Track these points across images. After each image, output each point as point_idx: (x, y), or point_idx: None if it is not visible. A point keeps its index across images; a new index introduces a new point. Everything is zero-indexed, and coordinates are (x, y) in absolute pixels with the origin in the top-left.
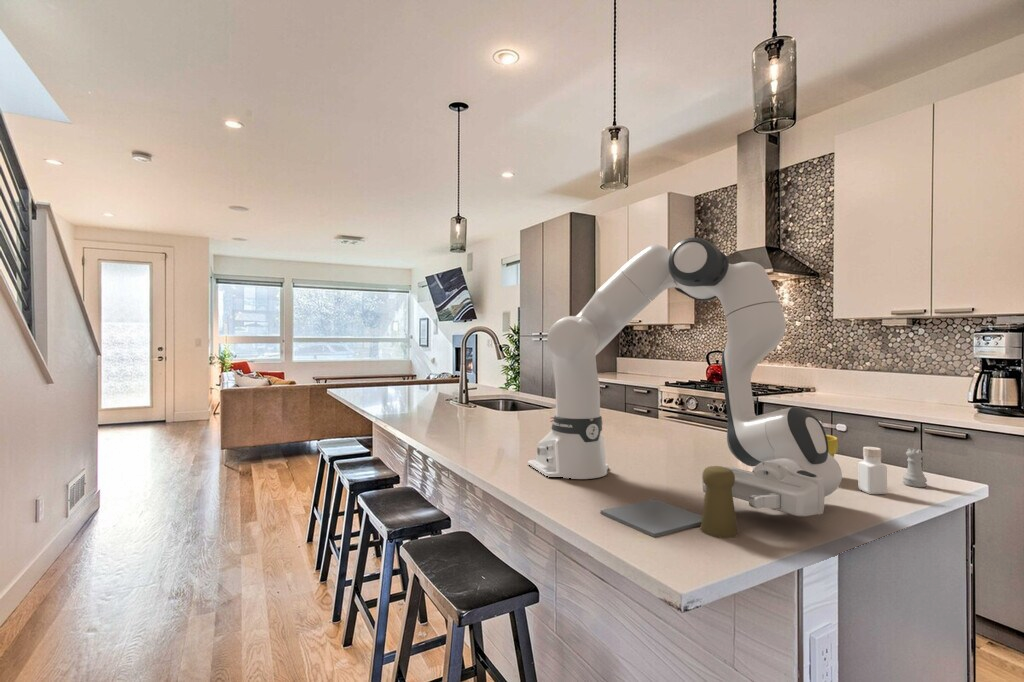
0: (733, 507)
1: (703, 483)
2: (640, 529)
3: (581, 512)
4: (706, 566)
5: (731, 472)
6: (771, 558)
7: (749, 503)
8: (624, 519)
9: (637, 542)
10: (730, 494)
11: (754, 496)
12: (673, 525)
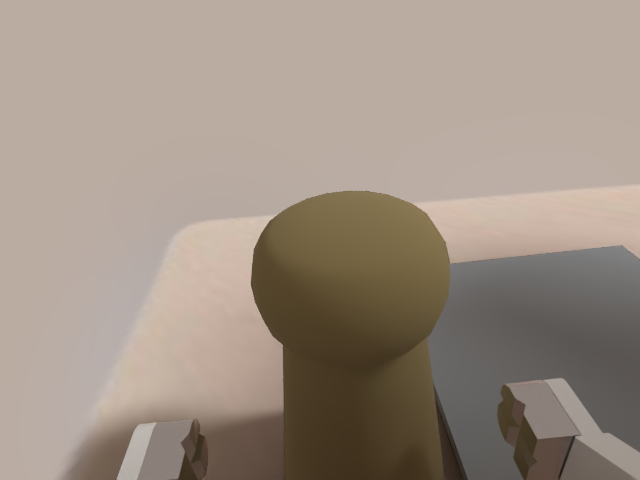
0: (289, 421)
1: (560, 379)
2: None
3: (628, 228)
4: (205, 283)
5: (263, 255)
6: (92, 438)
7: (199, 437)
8: (523, 260)
9: None
10: (283, 354)
11: (163, 434)
12: (439, 333)
